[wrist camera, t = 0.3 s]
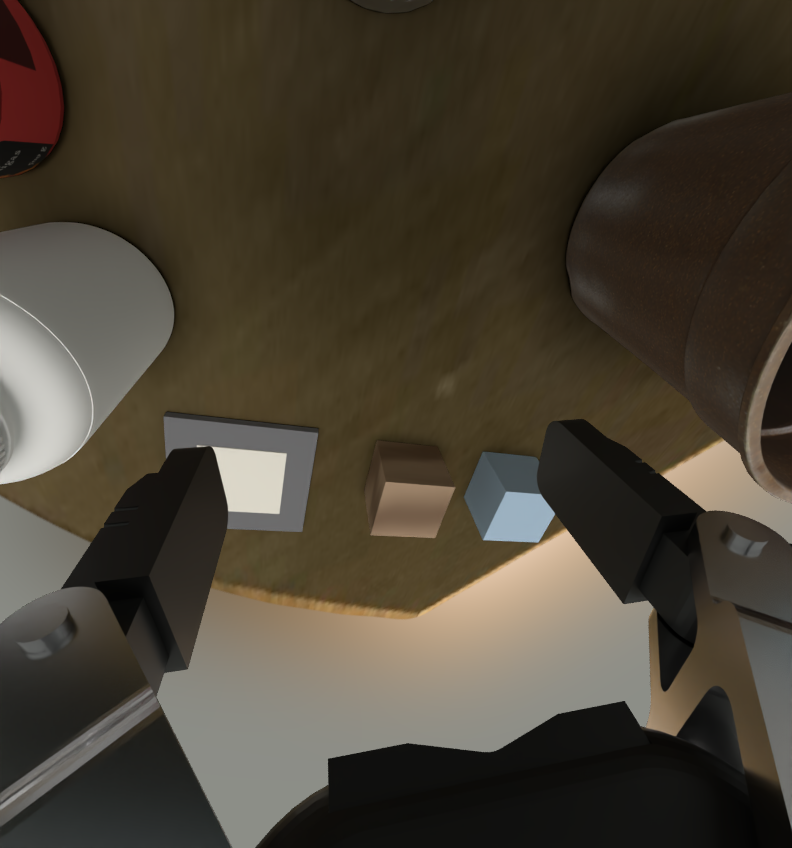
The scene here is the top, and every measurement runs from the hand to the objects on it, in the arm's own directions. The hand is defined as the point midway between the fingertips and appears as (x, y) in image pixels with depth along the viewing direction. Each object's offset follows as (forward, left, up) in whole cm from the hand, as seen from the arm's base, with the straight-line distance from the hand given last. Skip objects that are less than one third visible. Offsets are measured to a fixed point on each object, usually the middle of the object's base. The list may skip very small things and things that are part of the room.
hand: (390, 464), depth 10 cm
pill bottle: (+3, -13, -18) cm, 22 cm away
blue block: (+13, +16, -18) cm, 27 cm away
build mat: (+15, -5, -18) cm, 24 cm away
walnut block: (+13, +7, -18) cm, 23 cm away
